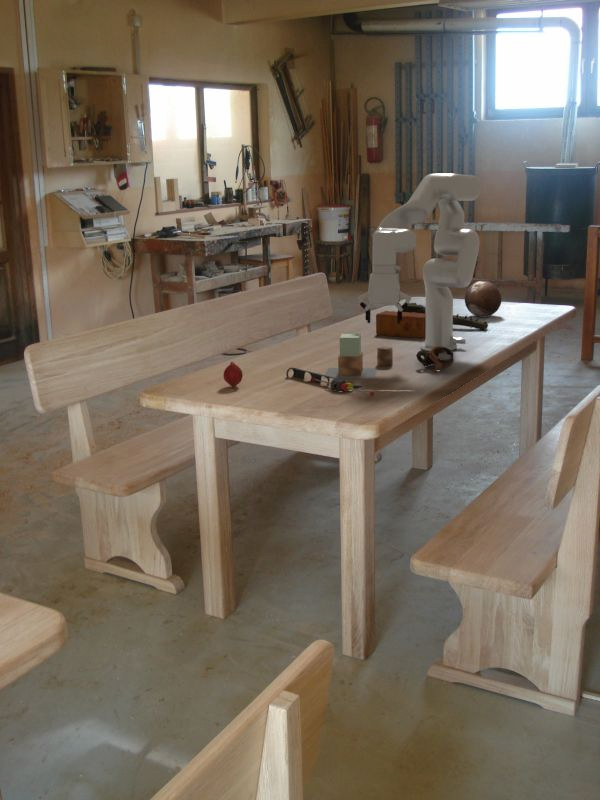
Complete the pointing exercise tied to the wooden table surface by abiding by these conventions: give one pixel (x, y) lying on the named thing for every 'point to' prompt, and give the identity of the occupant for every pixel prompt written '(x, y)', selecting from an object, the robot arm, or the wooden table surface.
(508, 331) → the wooden table surface
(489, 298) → the wooden sphere
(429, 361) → the pottery mug
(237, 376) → the onion
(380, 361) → the dowel
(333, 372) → the mat
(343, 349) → the tower mid
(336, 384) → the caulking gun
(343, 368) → the tower base
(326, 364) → the wooden table surface
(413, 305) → the wooden club
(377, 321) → the brick
